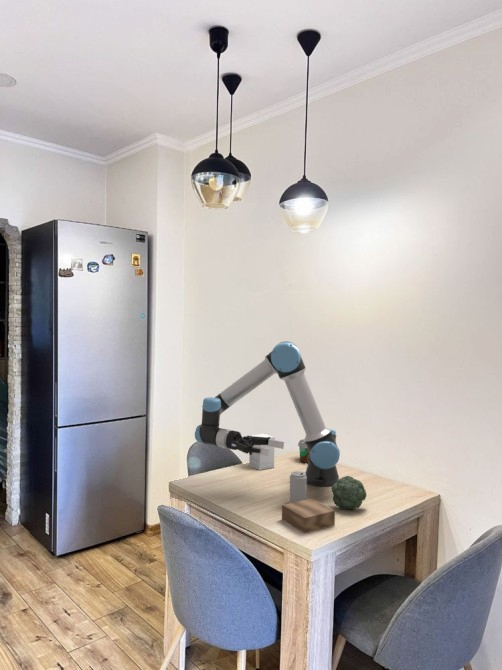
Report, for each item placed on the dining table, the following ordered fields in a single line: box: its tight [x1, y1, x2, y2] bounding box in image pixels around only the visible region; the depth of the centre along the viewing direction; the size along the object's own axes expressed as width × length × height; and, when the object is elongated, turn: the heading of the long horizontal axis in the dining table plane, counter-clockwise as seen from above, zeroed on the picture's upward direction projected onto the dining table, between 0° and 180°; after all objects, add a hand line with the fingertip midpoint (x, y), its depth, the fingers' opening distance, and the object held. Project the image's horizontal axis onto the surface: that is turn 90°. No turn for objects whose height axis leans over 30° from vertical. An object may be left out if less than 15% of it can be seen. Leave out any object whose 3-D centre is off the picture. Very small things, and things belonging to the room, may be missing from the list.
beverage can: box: [289, 470, 308, 503], centre depth 183 cm, size 6×6×12 cm
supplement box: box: [248, 433, 276, 471], centre depth 230 cm, size 9×9×15 cm
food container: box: [297, 438, 309, 465], centre depth 241 cm, size 12×6×10 cm, turn 178°
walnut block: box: [281, 498, 336, 534], centre depth 167 cm, size 13×13×5 cm
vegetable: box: [331, 475, 367, 511], centre depth 182 cm, size 12×13×15 cm
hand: (276, 448), depth 187 cm, fingers open, 13 cm apart
